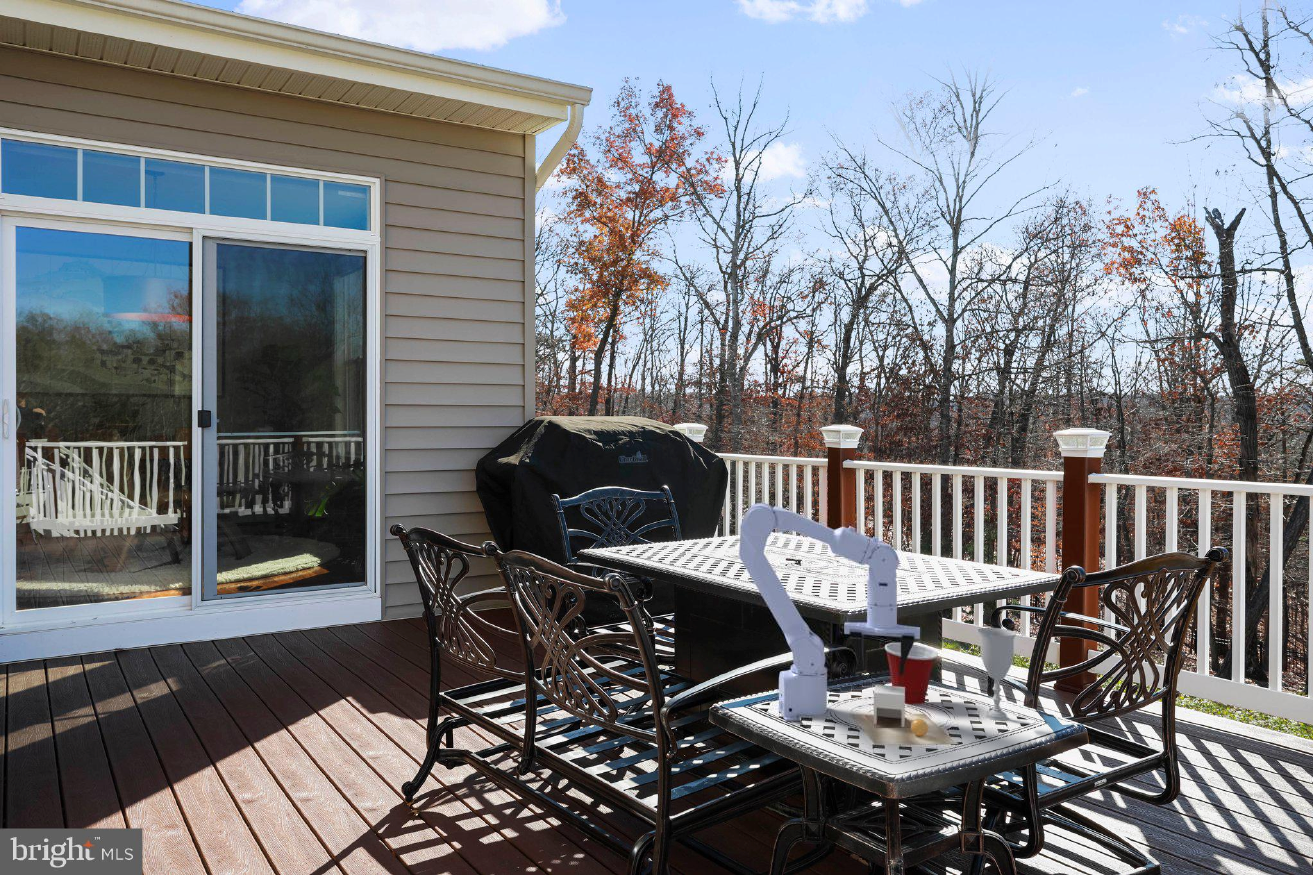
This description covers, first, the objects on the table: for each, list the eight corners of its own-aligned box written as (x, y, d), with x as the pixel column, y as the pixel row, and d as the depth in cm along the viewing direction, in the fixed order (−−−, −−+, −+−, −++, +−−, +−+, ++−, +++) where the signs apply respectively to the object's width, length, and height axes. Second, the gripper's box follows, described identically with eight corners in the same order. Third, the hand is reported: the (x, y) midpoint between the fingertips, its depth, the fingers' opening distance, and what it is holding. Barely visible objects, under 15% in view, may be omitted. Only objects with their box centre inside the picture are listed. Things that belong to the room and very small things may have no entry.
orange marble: (914, 738, 155) (914, 721, 155) (908, 732, 158) (908, 716, 158) (930, 738, 155) (930, 721, 155) (924, 732, 158) (924, 716, 158)
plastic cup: (930, 716, 171) (931, 657, 171) (877, 707, 177) (878, 649, 177) (943, 702, 180) (943, 646, 180) (892, 694, 186) (892, 639, 186)
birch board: (875, 751, 151) (875, 743, 151) (849, 720, 168) (849, 713, 168) (958, 750, 152) (958, 743, 152) (924, 719, 169) (924, 713, 169)
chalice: (969, 719, 169) (969, 629, 169) (995, 715, 172) (995, 626, 172) (998, 731, 162) (998, 637, 162) (1024, 726, 165) (1024, 634, 165)
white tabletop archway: (873, 723, 162) (873, 692, 162) (875, 715, 168) (875, 684, 168) (904, 726, 161) (904, 695, 161) (904, 717, 166) (904, 687, 166)
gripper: (842, 604, 168) (842, 673, 168) (919, 609, 163) (919, 680, 163) (846, 598, 174) (845, 665, 174) (920, 603, 170) (919, 671, 170)
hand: (881, 671), depth 169 cm, fingers open, 7 cm apart
